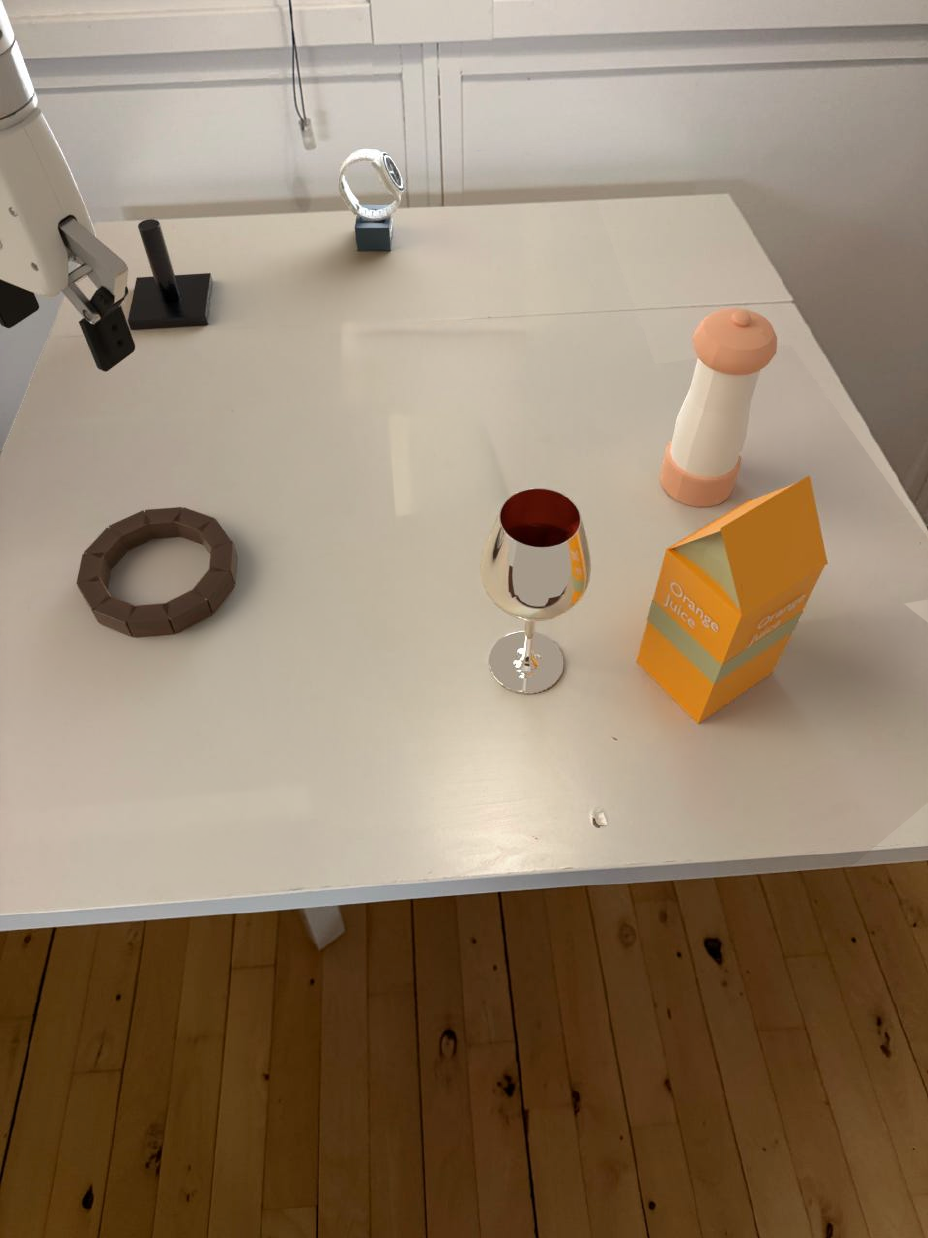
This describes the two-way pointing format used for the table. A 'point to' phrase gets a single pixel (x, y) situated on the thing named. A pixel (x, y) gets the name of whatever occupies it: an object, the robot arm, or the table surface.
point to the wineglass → (534, 582)
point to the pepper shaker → (717, 407)
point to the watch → (373, 219)
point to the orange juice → (733, 599)
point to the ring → (176, 611)
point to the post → (167, 289)
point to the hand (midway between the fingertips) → (68, 338)
